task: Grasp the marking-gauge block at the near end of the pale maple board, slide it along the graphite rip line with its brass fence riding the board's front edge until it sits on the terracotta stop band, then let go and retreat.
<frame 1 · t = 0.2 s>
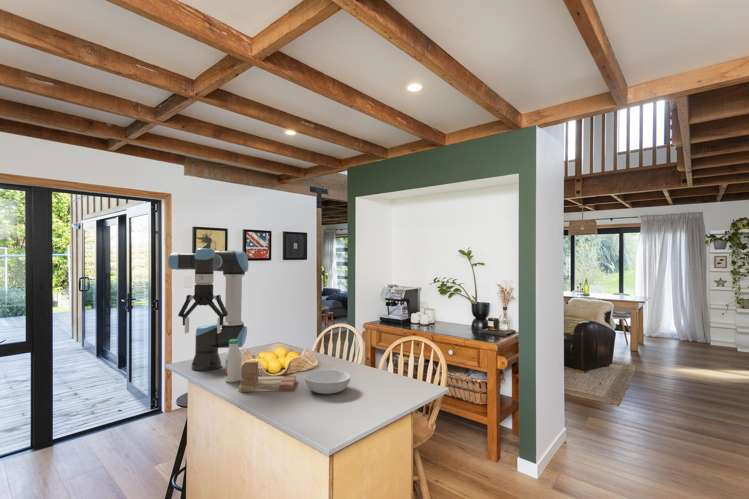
hand: (202, 332, 168), 28 cm above the worktop, fingers open, 13 cm apart
milk bottle: (233, 380, 192), on the worktop
maple board: (268, 386, 183), on the worktop
serving bowl: (327, 391, 178), on the worktop
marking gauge: (249, 383, 180), point 2 cm above the worktop, touching maple board
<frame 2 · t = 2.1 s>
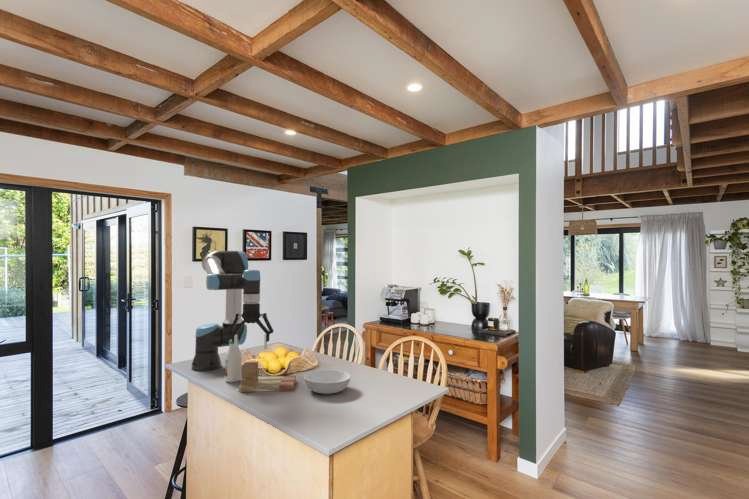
hand: (250, 348, 180), 18 cm above the worktop, fingers open, 13 cm apart
nothing on the worktop moved.
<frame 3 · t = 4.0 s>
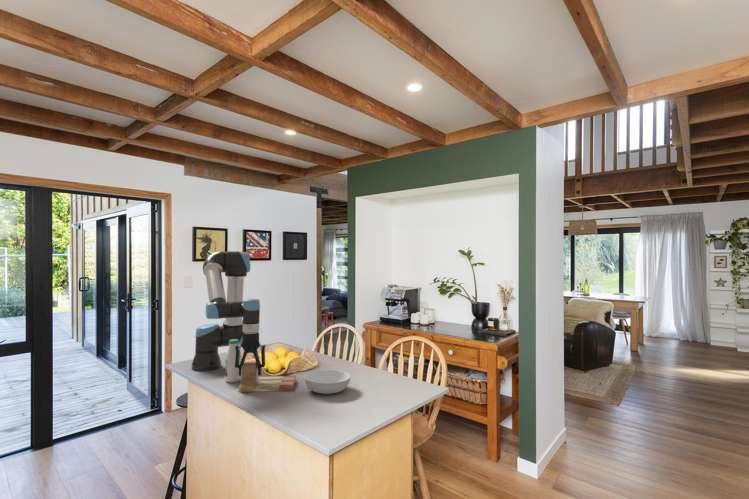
hand: (249, 382, 180), 3 cm above the worktop, fingers closed on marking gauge, 6 cm apart
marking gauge: (249, 383, 180), point 3 cm above the worktop, touching gripper, maple board
everything else where it was.
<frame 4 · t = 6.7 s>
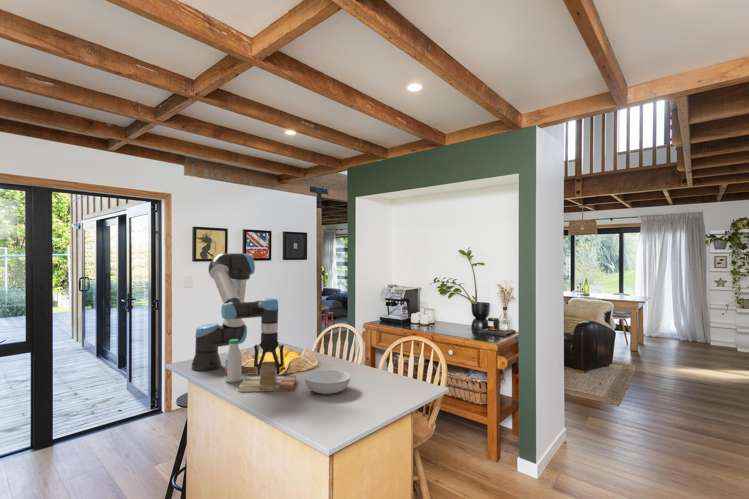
hand: (268, 381, 180), 3 cm above the worktop, fingers closed on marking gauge, 6 cm apart
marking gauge: (268, 382, 180), point 3 cm above the worktop, touching gripper
everything else where it was.
when the fingers open (3 cm above the worktop, at t = 9.6 s): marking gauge stays where it is, resting on maple board.
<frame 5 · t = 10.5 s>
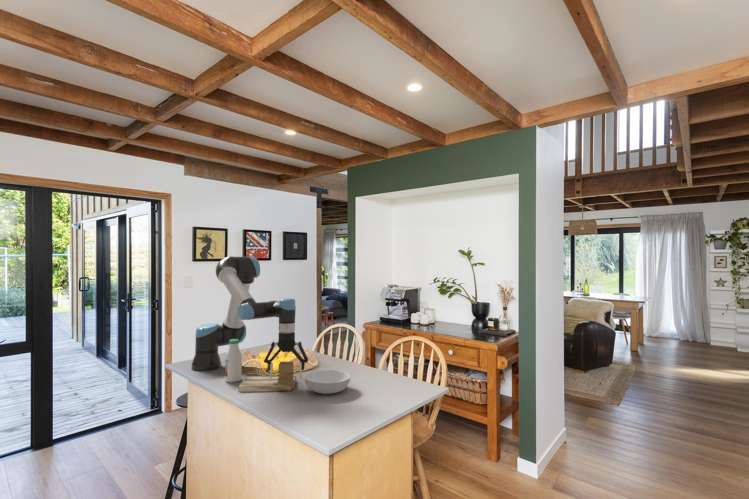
hand: (286, 377, 181), 5 cm above the worktop, fingers open, 13 cm apart
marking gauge: (285, 382, 181), point 2 cm above the worktop, touching maple board
everything else where it was.
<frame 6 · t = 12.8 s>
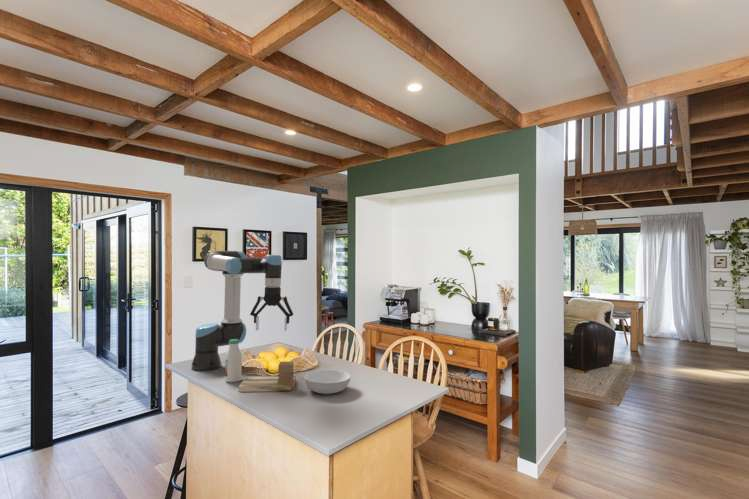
hand: (271, 330, 189), 26 cm above the worktop, fingers open, 13 cm apart
nothing on the worktop moved.
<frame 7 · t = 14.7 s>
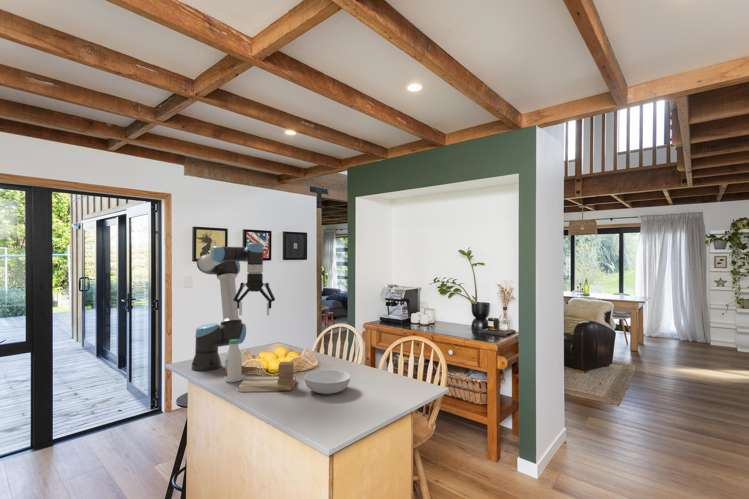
hand: (254, 315, 196), 32 cm above the worktop, fingers open, 13 cm apart
nothing on the worktop moved.
at the end: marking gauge 0.1 cm from the target spot, point 2.5 cm above the worktop; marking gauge tilted 0°; the gripper is holding nothing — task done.
